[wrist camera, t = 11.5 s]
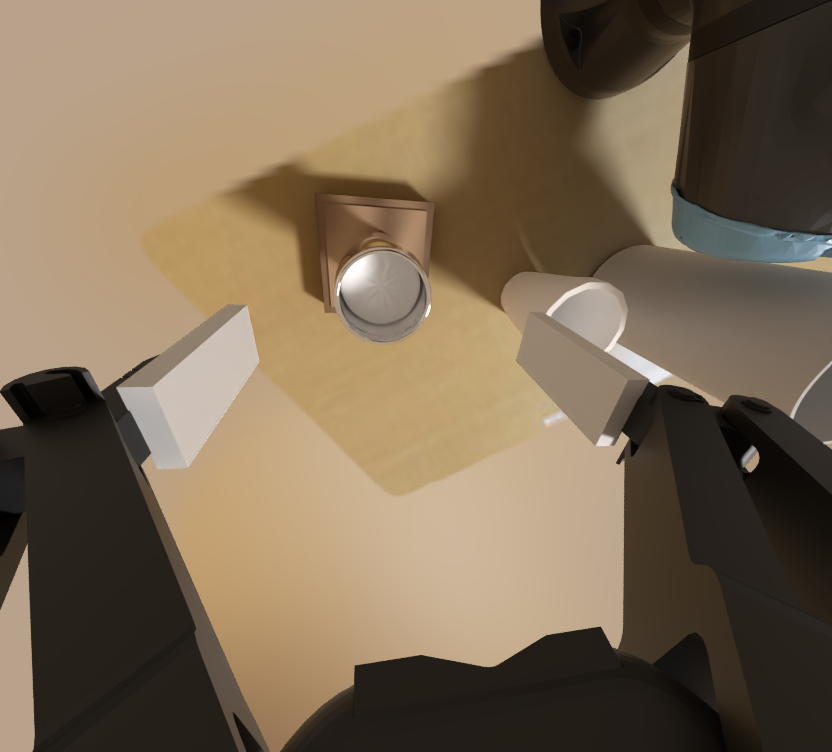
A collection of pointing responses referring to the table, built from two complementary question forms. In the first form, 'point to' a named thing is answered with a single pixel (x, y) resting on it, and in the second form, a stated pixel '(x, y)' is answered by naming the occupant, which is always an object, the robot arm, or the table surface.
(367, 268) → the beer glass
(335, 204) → the coaster
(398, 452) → the table surface
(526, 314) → the foam cup
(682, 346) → the cylinder vase
